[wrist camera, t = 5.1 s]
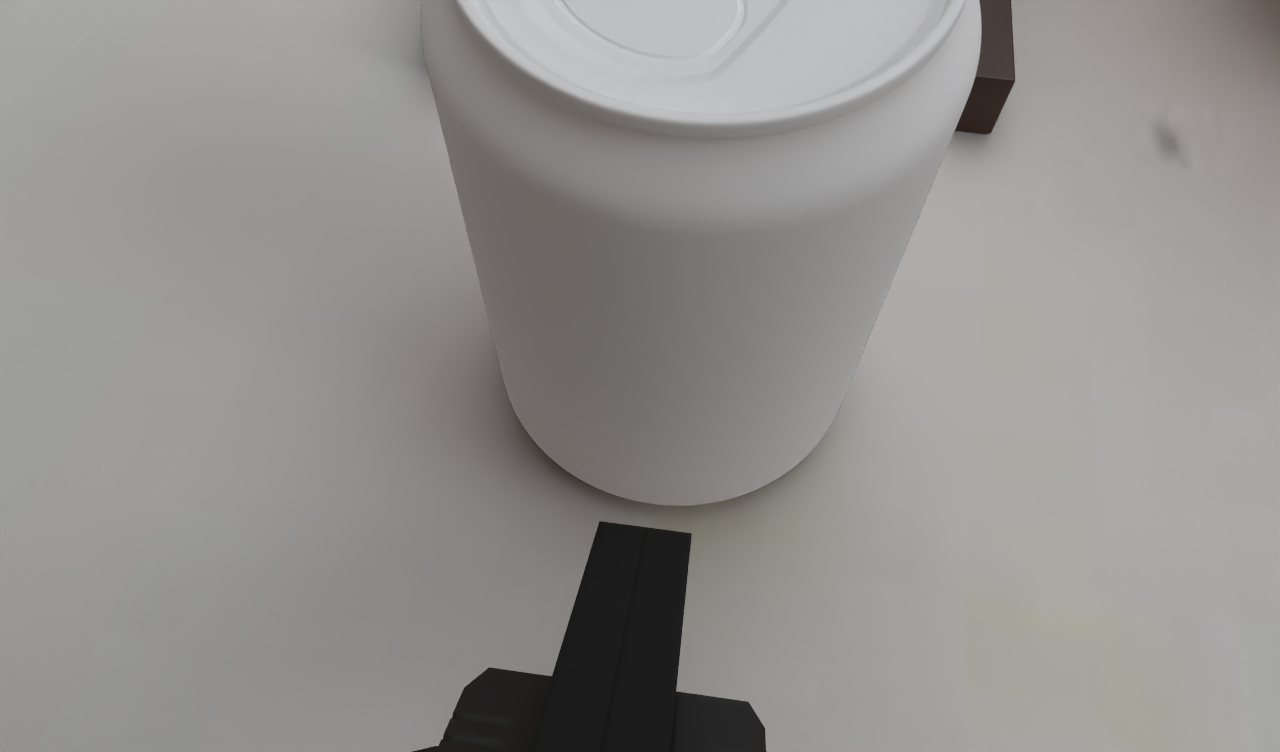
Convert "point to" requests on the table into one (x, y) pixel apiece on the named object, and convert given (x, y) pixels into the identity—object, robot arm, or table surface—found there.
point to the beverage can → (691, 214)
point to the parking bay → (991, 69)
